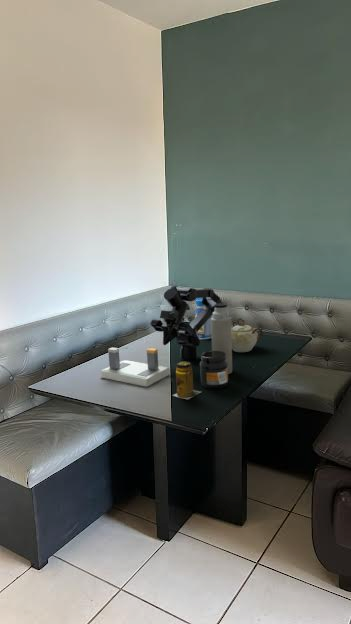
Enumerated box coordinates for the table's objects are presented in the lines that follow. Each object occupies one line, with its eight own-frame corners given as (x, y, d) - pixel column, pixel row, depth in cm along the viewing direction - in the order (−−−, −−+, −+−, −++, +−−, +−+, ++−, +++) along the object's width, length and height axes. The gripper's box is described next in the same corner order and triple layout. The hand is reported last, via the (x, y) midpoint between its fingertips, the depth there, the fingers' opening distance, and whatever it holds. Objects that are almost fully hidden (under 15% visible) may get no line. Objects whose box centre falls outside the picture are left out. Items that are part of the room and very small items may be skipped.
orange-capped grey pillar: (151, 367, 200) (150, 348, 199) (158, 368, 198) (157, 349, 197) (147, 368, 198) (146, 349, 197) (155, 370, 196) (153, 350, 195)
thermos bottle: (215, 367, 207) (213, 302, 201) (234, 368, 204) (232, 302, 198) (210, 374, 199) (208, 306, 193) (229, 375, 197) (228, 306, 191)
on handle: (113, 366, 204) (112, 347, 202) (120, 367, 202) (118, 348, 200) (109, 368, 202) (108, 348, 200) (116, 369, 200) (114, 350, 198)
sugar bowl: (216, 352, 227) (215, 320, 224) (227, 343, 240) (226, 313, 237) (257, 356, 219) (257, 323, 216) (267, 347, 232) (266, 316, 229)
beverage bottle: (212, 339, 249) (211, 300, 245) (196, 340, 249) (194, 301, 245) (211, 335, 258) (210, 297, 253) (195, 335, 258) (194, 298, 253)
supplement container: (227, 389, 182) (226, 358, 179) (198, 389, 184) (197, 358, 181) (229, 379, 192) (228, 350, 190) (202, 379, 194) (201, 350, 191)
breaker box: (125, 366, 214) (124, 359, 213) (168, 374, 201) (168, 367, 200) (101, 377, 202) (100, 369, 201) (146, 386, 189) (146, 378, 188)
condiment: (171, 395, 179) (170, 364, 176) (186, 388, 185) (185, 358, 183) (187, 400, 174) (186, 367, 172) (202, 392, 181) (201, 361, 178)
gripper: (151, 300, 209) (136, 332, 203) (188, 304, 199) (174, 337, 193) (163, 315, 217) (149, 345, 211) (199, 318, 207) (186, 351, 201)
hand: (164, 344), depth 203 cm, fingers closed
